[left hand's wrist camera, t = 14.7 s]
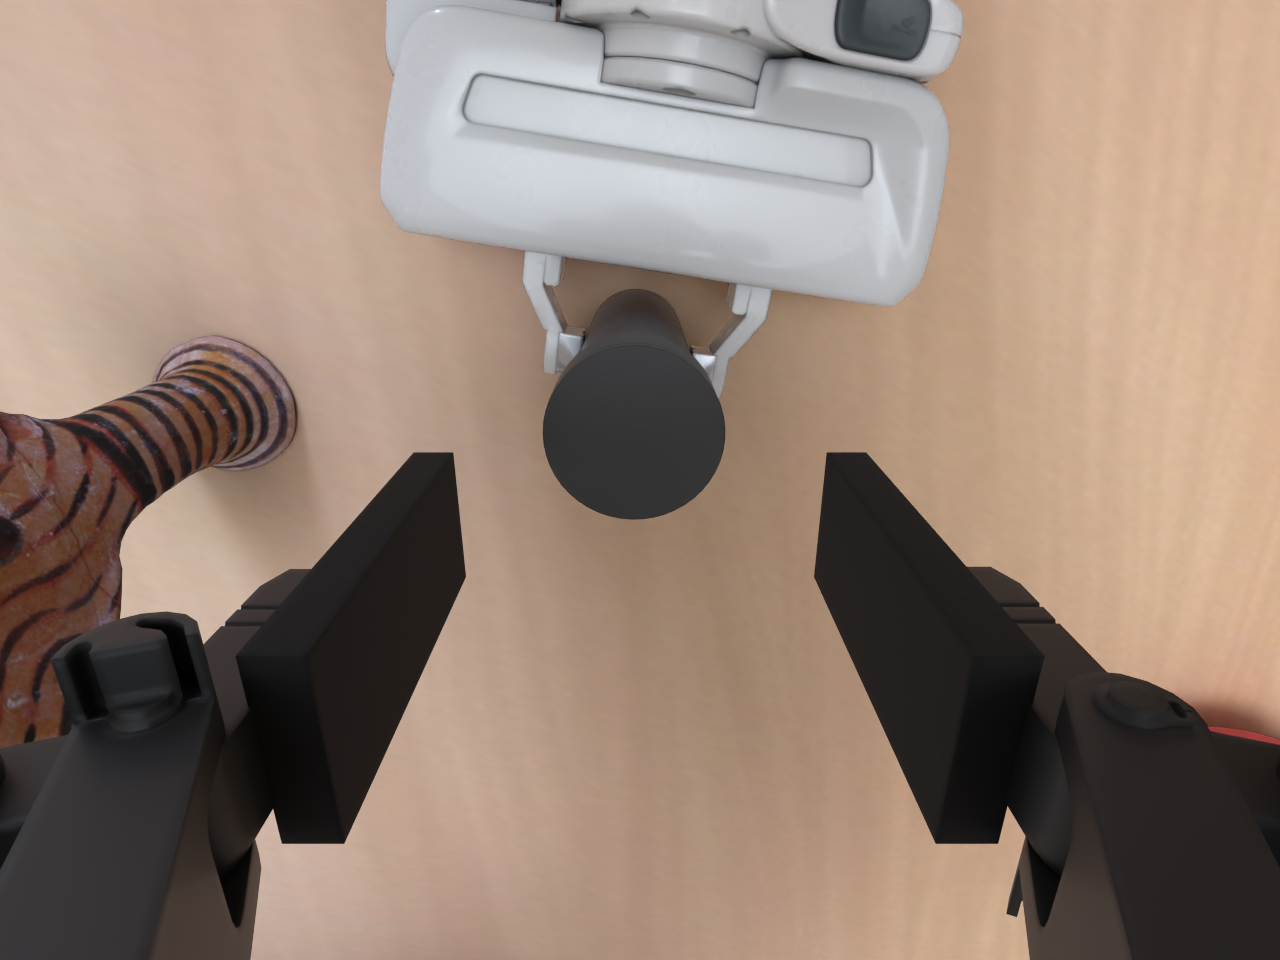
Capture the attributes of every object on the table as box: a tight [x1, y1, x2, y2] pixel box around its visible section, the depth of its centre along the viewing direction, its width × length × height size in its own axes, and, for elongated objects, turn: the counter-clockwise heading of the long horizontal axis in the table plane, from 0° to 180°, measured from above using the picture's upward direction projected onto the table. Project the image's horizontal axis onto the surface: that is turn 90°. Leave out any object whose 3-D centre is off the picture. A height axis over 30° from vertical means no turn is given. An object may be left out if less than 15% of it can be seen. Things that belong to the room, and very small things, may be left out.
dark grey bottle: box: [581, 289, 690, 353], centre depth 28 cm, size 4×4×16 cm
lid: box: [543, 332, 725, 519], centre depth 21 cm, size 5×5×2 cm
